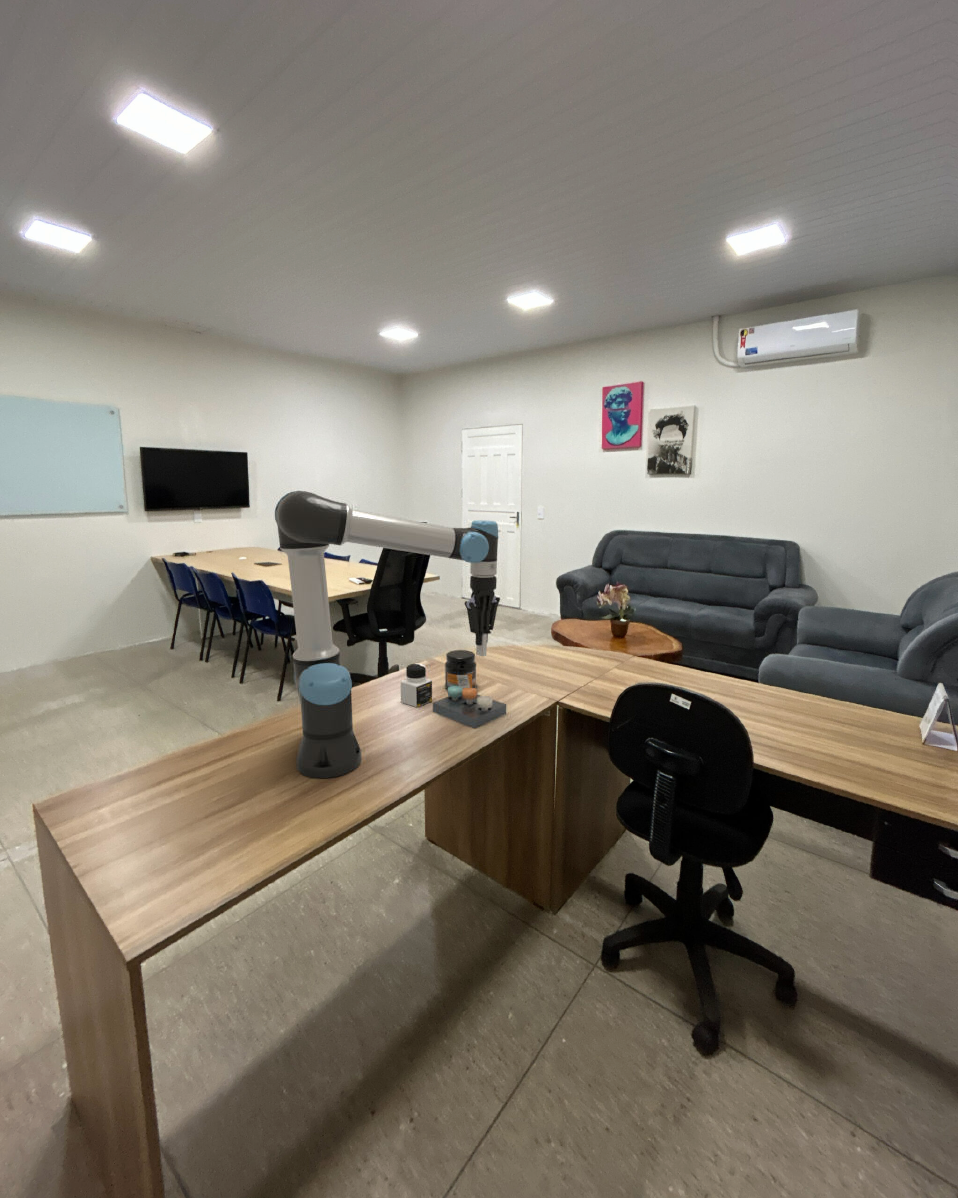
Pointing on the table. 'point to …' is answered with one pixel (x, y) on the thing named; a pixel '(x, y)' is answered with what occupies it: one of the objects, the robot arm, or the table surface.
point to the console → (468, 711)
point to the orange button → (469, 695)
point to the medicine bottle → (416, 686)
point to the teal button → (455, 692)
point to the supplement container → (460, 669)
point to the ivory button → (484, 703)
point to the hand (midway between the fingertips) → (481, 655)
